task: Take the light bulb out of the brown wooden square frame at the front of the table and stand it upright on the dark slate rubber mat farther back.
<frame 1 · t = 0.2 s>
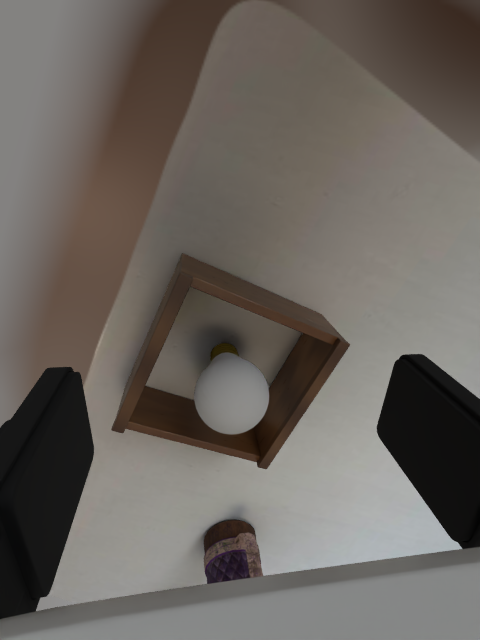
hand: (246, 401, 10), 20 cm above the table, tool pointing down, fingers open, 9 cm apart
light bulb: (223, 349, 33), resting in brown wooden square frame
mug: (233, 526, 44), on the table
brown wooden square frame: (223, 350, 33), on the table
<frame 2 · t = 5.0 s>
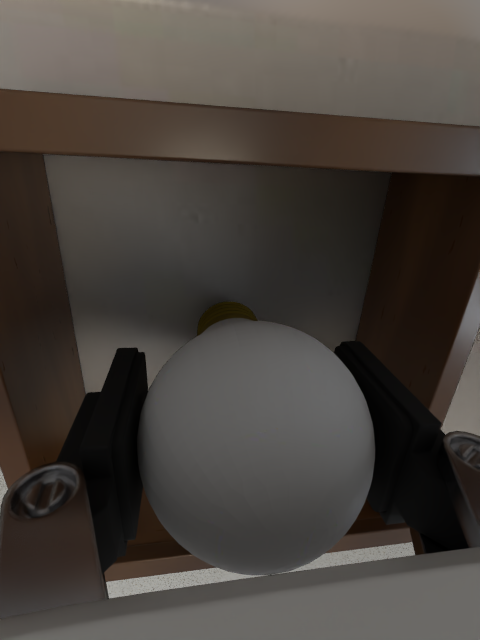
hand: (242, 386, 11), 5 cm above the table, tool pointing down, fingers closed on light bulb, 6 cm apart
light bulb: (225, 319, 15), resting in brown wooden square frame, touching gripper
brown wooden square frame: (225, 321, 15), on the table
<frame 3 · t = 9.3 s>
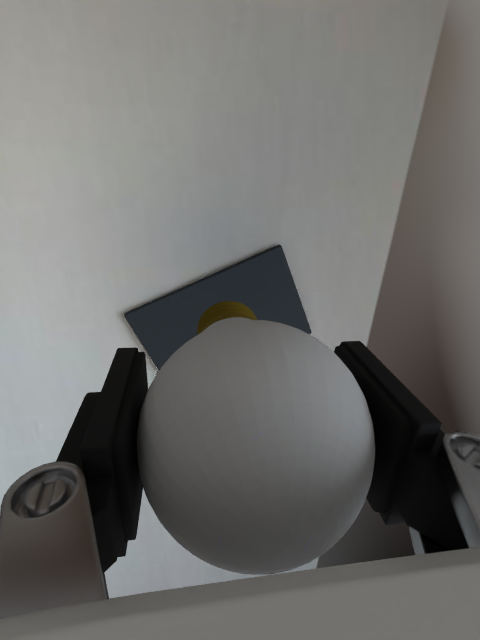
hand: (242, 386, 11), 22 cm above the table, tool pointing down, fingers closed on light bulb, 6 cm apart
light bulb: (225, 319, 15), point 16 cm above the table, touching gripper
mat: (222, 322, 33), on the table
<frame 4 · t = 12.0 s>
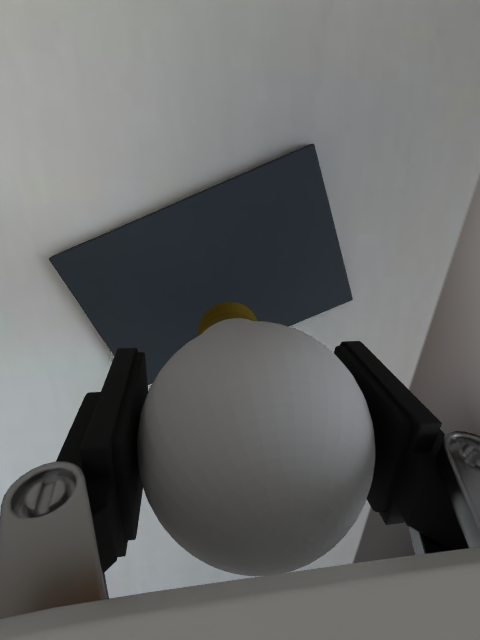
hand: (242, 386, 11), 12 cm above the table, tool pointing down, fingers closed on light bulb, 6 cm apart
light bulb: (225, 320, 15), point 6 cm above the table, touching gripper
mat: (214, 278, 21), on the table
when the fingers open (6 cm above the table, at t = 13.9 s): light bulb stays where it is, resting on mat.
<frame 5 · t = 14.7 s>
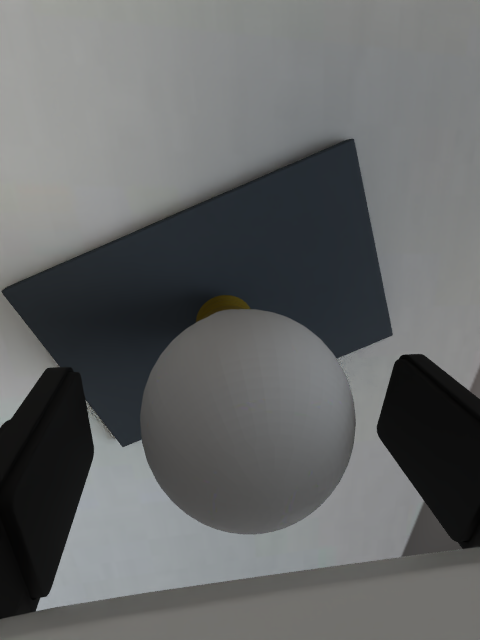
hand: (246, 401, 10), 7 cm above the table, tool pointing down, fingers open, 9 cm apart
light bulb: (222, 313, 16), resting on mat
mat: (219, 311, 16), on the table
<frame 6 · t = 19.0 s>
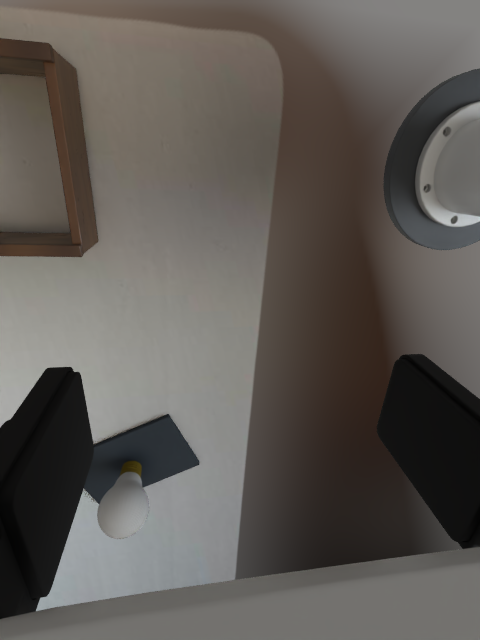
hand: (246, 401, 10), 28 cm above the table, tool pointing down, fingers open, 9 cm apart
light bulb: (133, 461, 47), resting on mat
mat: (132, 460, 47), on the table
brown wooden square frame: (3, 159, 30), on the table
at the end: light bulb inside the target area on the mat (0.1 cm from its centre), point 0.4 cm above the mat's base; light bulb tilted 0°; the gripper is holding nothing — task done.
